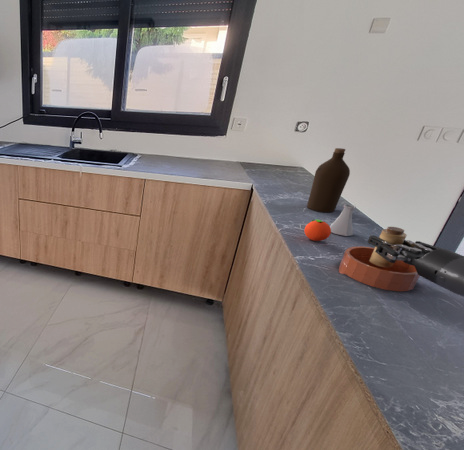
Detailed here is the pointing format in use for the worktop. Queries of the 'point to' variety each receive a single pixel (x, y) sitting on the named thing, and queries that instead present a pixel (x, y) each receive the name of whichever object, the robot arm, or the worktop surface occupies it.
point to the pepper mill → (391, 236)
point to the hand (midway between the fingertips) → (379, 238)
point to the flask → (344, 222)
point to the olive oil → (329, 183)
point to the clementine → (317, 230)
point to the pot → (377, 271)
